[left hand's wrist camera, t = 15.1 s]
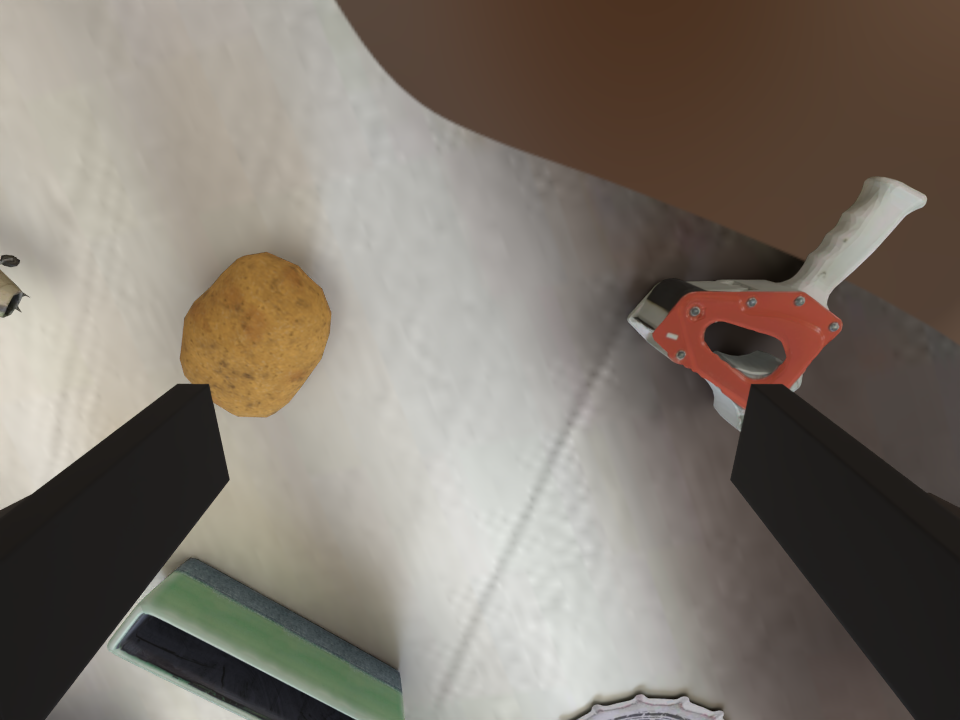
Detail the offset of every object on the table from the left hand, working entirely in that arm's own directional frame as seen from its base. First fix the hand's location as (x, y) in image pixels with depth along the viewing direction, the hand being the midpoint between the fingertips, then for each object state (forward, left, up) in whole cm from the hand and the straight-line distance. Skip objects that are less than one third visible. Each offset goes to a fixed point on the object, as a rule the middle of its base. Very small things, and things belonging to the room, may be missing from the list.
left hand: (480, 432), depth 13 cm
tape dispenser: (-22, -1, -28) cm, 35 cm away
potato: (+14, +10, -28) cm, 33 cm away
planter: (+9, +43, -28) cm, 52 cm away
